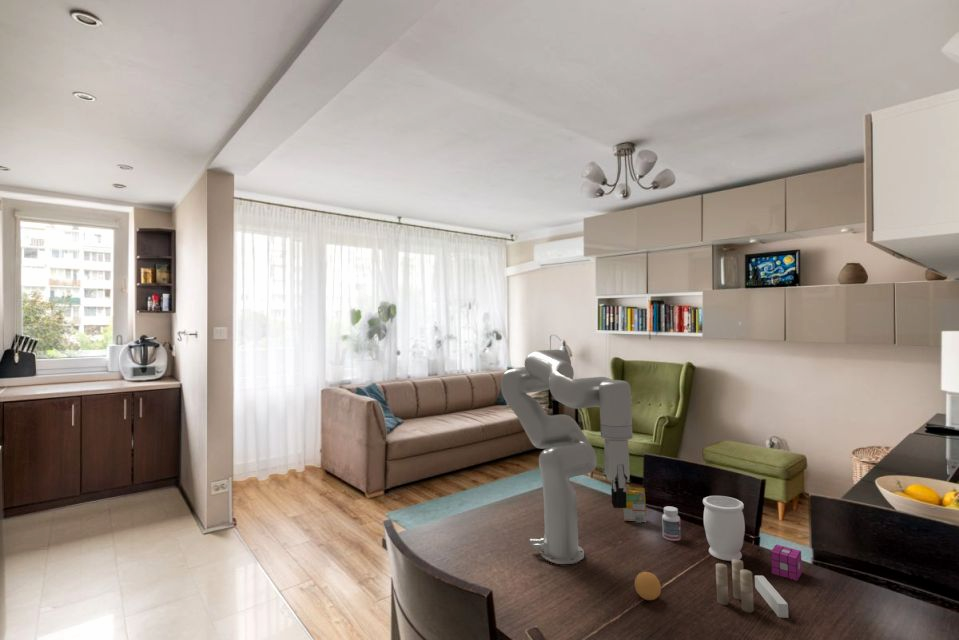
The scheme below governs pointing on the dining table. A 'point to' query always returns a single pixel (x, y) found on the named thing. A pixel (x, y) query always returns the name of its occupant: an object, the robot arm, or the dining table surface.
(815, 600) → the dining table surface
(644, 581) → the ball
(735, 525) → the jar
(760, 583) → the back rail
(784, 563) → the puzzle toy
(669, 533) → the pill bottle
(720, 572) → the pin front
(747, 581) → the pin
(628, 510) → the crayon box
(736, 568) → the pin
